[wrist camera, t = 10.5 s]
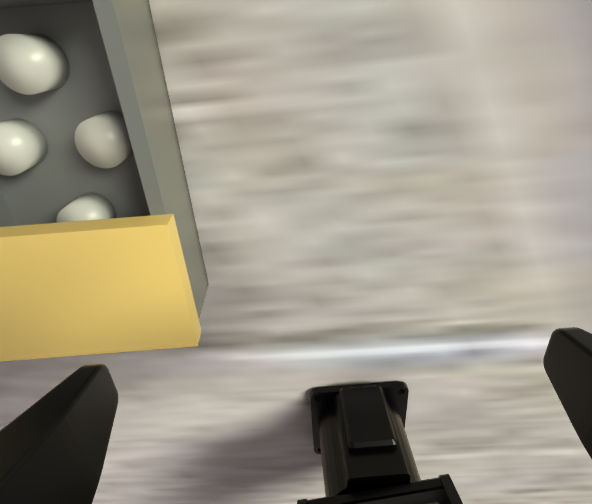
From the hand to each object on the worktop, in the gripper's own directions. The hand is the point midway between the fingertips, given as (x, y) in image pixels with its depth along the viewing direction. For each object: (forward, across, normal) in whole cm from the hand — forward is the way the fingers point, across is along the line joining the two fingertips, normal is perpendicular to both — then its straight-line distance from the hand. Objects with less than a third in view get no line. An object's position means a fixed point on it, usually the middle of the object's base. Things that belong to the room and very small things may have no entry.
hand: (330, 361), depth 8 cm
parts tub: (+12, +10, -1) cm, 16 cm away
